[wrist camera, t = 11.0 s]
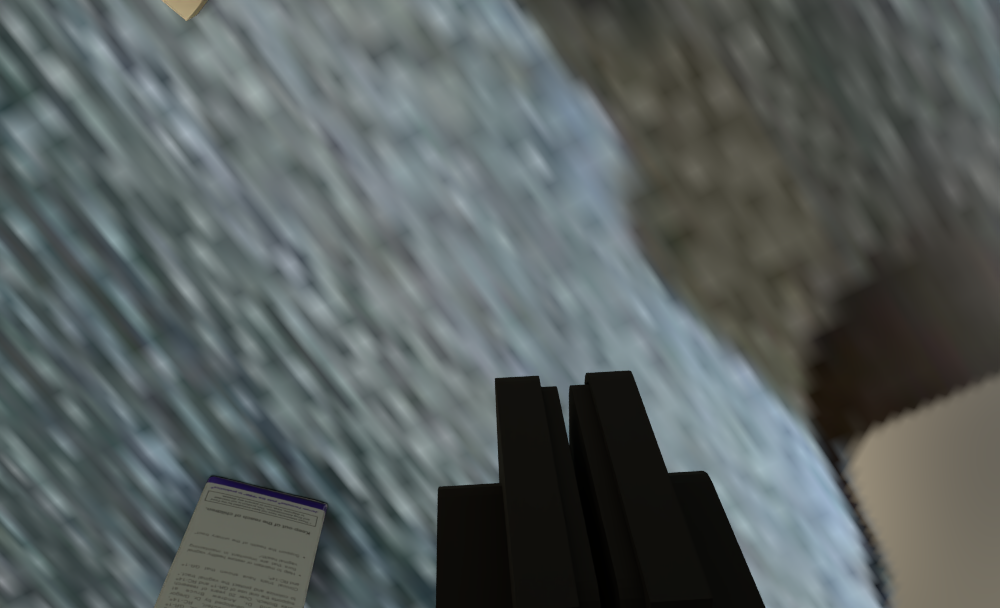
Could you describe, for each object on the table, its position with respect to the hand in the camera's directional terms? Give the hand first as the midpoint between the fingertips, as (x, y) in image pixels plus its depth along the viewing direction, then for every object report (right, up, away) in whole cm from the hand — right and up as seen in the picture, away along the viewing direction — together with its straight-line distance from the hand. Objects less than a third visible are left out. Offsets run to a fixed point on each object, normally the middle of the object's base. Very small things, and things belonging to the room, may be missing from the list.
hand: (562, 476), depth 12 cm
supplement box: (-13, -9, +34) cm, 37 cm away
